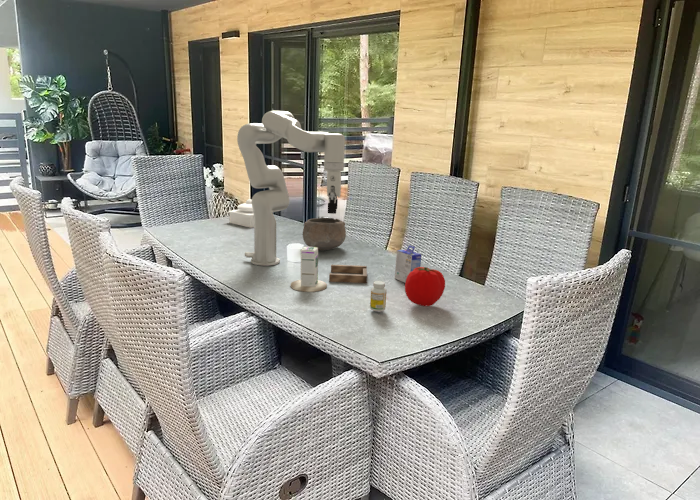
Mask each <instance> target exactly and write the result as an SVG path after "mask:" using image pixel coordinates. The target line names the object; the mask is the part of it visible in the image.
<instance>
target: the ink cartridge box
mask: <svg viewBox="0 0 700 500" xmlns="http://www.w3.org/2000/svg"><path fill="white" fill-rule="evenodd" d="M410 248H411V249H410ZM415 248H416V247H415V246H413V245H410V244H409V245H408V246H407V249H398V250H396V258H395V269H394V279H395V280H397V281H400V282H403V283H404V284H405V283H406V279H407V276H408V275H409V273H410V272H412V271H413V270H414V269H415V267H416V268H417V267H422V266H421V264H422V254H421V253H418V252H416V251H415Z"/></svg>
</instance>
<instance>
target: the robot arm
mask: <svg viewBox="0 0 700 500" xmlns="http://www.w3.org/2000/svg"><path fill="white" fill-rule="evenodd" d="M237 132H238V133H237V135H236V136H237V139H236V140H237V146H238V148H239V151H240V154H241V156H242V159H243V161H244V167H245V169H246V170H245V171H246V173H247V174H246V175H247V178H248V181H249V184H250V185H251V187H252V188H254V189H266V190H261V191H257V192H256V193H254V194H253V196H252V197H251V199H252V208H253V213H254V227H253V228H254V230H253V231H254V232H253V233H254V235H253V237H254V238H253V241H254V251H251V252H247V251H245V252H244V257H246V258H251V259H250V263H251V264H252V265H255V266H260V267H261V266H265V267H267V266H275V265H278V264H279V263H281V259H280V258H279V257H277V220H276V218H275V217H276V216H275V215H274V214H273V213H274V212H276V213H277V212H280V211H284V210H286V209H287V208H288V207H289V205H290V195H289V190H288V188H287V183H286V179H285V176H284V172H283V171H282V170H281V169H280V167H278V166H277V165H274V164H273V165H269V164H268V165H267V164H266V161H265V157H264V154H263V152H262V151H261V150H260V148H259V147H258V146H257V144H258V145H261V144H266V145H267V144H273V143H276V142H278V141H279V140H281V139H282V138H283V139H285V140H287V142H288V144H289V145H291V146H292V147H293V148H295V149H298V150H299V151H301V152H305V153H324V155H323V158H324V160H323V171H325V172H326V194H327V195H326V197H328V202H327V214H333V215H334V214H335V215H336V214H337V209H338V203H339V202H338V200H339V199H338V198H340V197H341V193H342V191H341V189H342V172H344V168H345V167H344V165H345V145H346V144H345V143H346V142H345V141H346V140H345V139H346V138H345V135H344V134H342V133H331V132H326V131H307V130H303V129H302V125H301V122H300V121H299V120H297V119H295V116H294V115H293V114H292V113H291V112H289V111H285V110H269V111H267V112H266V113H264V114H263V116H262V118H261V123H258V122H253V123H251V122H250V123H246V124H244V125H242V126H241V127H240V128H239V129H238V131H237ZM267 188H268V190H267Z"/></svg>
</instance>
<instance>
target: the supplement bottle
mask: <svg viewBox="0 0 700 500" xmlns="http://www.w3.org/2000/svg"><path fill="white" fill-rule="evenodd" d="M372 284H373V285H372V286H373V287H372V288H371V289H370V300H369V301H370V303H369V304H370V306H369V307H370V310H371V311H373V312H385V310H386V305H387V289H386V282H385V281H381V280H375V281H373V283H372Z"/></svg>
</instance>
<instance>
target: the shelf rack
mask: <svg viewBox="0 0 700 500" xmlns="http://www.w3.org/2000/svg"><path fill="white" fill-rule="evenodd" d="M367 268H368V267H367V265H350V264H330V273H329V274H328V275H329V277H328V278H329V279H328V282H332V283H352V284H353V283H356V284H367V281H368V271H367Z"/></svg>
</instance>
